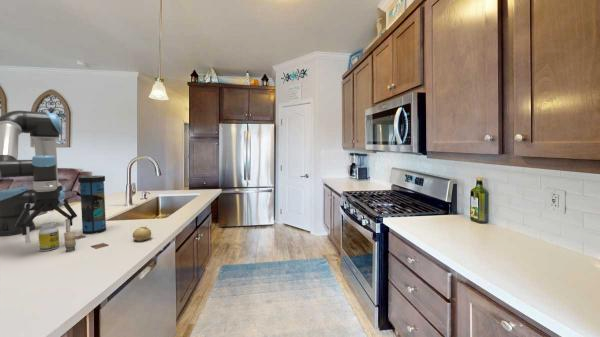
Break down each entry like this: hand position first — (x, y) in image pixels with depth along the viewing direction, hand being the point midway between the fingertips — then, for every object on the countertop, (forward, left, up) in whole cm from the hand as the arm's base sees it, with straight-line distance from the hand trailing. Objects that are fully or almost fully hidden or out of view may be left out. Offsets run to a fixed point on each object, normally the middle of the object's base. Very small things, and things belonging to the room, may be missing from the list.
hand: (49, 237), depth 117 cm
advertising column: (-12, +22, -6) cm, 26 cm away
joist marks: (+3, +13, -5) cm, 15 cm away
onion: (+23, +28, -6) cm, 37 cm away
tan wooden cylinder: (+10, +4, -5) cm, 12 cm away
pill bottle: (0, 0, -6) cm, 6 cm away
